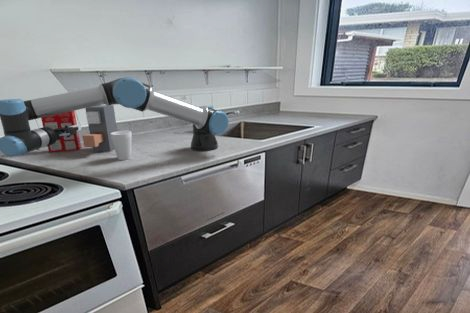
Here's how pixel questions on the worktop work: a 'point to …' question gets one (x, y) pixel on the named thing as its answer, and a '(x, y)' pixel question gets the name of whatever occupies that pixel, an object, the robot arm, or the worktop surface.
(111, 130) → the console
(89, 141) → the terracotta plug
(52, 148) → the food packaging
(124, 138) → the foam cup
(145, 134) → the worktop surface
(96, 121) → the grey plug
